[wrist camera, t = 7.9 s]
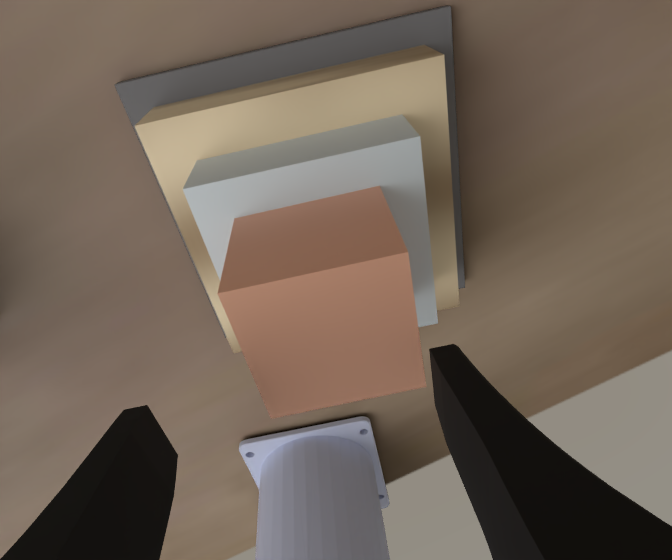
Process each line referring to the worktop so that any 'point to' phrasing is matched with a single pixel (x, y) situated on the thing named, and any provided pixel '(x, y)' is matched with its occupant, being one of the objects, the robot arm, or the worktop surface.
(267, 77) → the rubber mat
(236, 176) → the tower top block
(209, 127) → the oak slab
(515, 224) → the worktop surface
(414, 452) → the worktop surface
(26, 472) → the worktop surface
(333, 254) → the terracotta block
